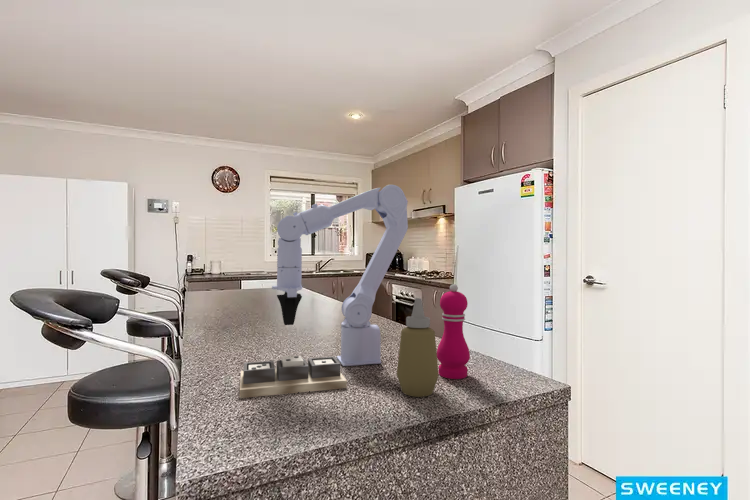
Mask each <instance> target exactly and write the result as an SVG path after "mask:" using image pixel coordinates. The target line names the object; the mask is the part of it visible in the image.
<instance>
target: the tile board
mask: <svg viewBox="0 0 750 500" xmlns="http://www.w3.org/2000/svg"><path fill="white" fill-rule="evenodd" d="M302 359H303V366H292V367H281V364H282V359H280V360H276V367H275V361H274V360H265V361H251V362H243V370H240V381H239V396H238V397H239V399H245V398H246V399H248V398H255V397H256V398H257V397H258V398H259V397H266V396H275V395H276V396H277V395H289V394H298V392H300V393H308V392H309V391H310V392H317V391H318V392H320V391H330V390H340V389H347V388H348V387H347V385H348V383H347V382H348V381H347V379H346V377H345V376H344V374H342V372H341V365H342V364H341V363H340V362H339V360H338V359H337V356H323V357H321V356H320V357H309V358H307V360H306V359H305V358H302ZM326 359H332V360H333V362H334V363H332V364H319V365H314V363H313V360H326ZM255 364H269V366H270V368H265V369H252V370H249V365H255ZM288 393H289V394H288Z"/></svg>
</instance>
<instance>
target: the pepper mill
mask: <svg viewBox="0 0 750 500" xmlns="http://www.w3.org/2000/svg"><path fill="white" fill-rule="evenodd" d="M458 289H459V287H458V285H457V284H454V283H453V284H450V286H449V291H446V292H445V293H443V294H442V295H441V297H440V299H439V307H440V309H441V310H442V311H443V312H442V314H441V316H442V317H441V320H442V321H443V325H444V327H443V334H442V337H441V339H440V341H439V344H438V345H437V347H436V351H437V361H438V362H439V363H440V364H439V365H438V374H439V376H440V377H442V378H446V379H450V380H462V379H465V378H467V377H468V367H467V366H466V365H467V364H468V363H469V361H470V358H471V355H470V348H469V346H468V343H467V341H466V339H465V336H464V332H463V331H464V329H463V327H464V321H465V320H466V318H465V316H466V313H465V311H466V310H467V309H468V299H467V297H466V295H465V294H463V293H462V292H461V291H458Z"/></svg>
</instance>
